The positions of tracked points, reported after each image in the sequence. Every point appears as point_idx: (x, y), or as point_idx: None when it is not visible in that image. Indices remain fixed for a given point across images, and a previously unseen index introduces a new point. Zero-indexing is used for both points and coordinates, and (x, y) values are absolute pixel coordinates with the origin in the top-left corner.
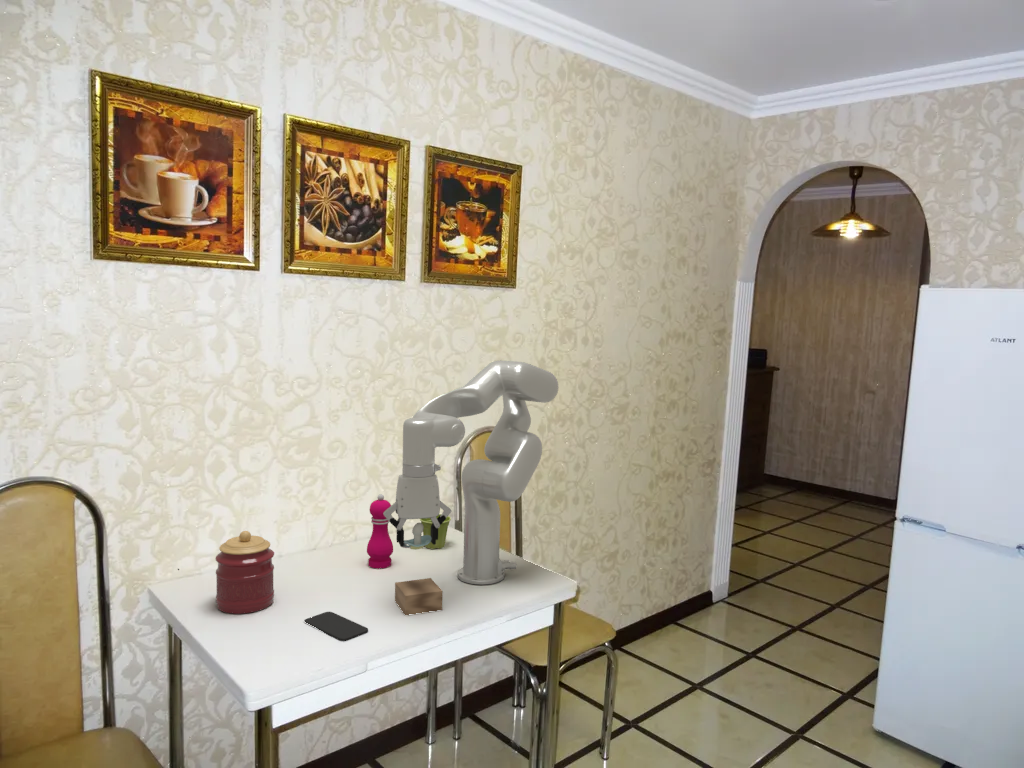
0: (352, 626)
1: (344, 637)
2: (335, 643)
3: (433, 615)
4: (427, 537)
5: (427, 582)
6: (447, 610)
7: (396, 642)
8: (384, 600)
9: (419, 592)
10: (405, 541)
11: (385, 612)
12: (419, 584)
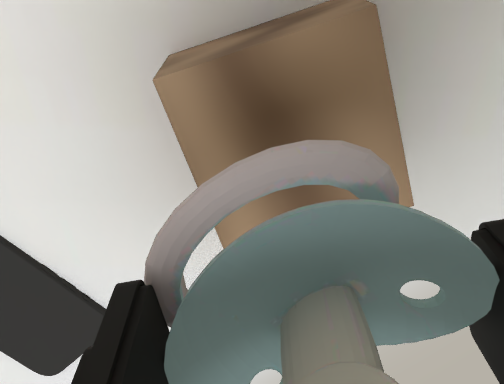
0: (48, 304)
1: (48, 368)
2: (31, 380)
3: None
4: (451, 258)
5: (347, 85)
6: (408, 164)
7: None
8: (114, 39)
9: None
10: (190, 330)
11: (144, 176)
12: (298, 114)
